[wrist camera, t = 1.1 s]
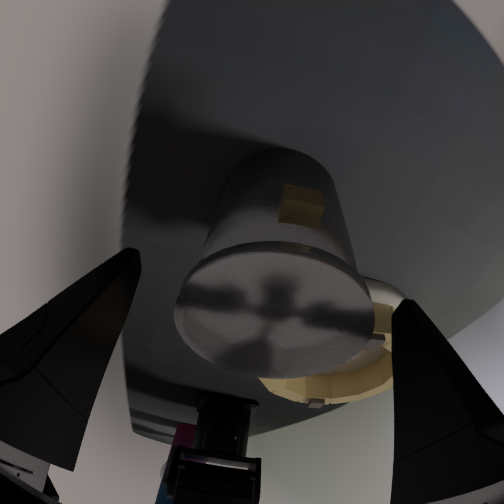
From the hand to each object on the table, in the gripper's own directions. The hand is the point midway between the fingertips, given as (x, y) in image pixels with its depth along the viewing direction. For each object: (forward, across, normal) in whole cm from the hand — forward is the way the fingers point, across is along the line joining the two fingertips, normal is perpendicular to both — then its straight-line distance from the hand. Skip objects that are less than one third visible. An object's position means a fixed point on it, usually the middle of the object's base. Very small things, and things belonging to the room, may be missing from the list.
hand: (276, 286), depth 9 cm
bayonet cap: (+5, 0, 0) cm, 5 cm away
